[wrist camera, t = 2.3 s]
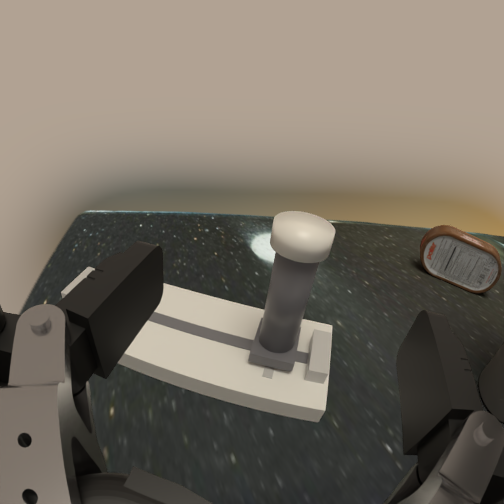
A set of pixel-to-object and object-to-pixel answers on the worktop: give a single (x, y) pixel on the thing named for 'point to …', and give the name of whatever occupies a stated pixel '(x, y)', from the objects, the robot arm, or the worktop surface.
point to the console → (227, 354)
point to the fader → (290, 285)
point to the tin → (460, 259)
